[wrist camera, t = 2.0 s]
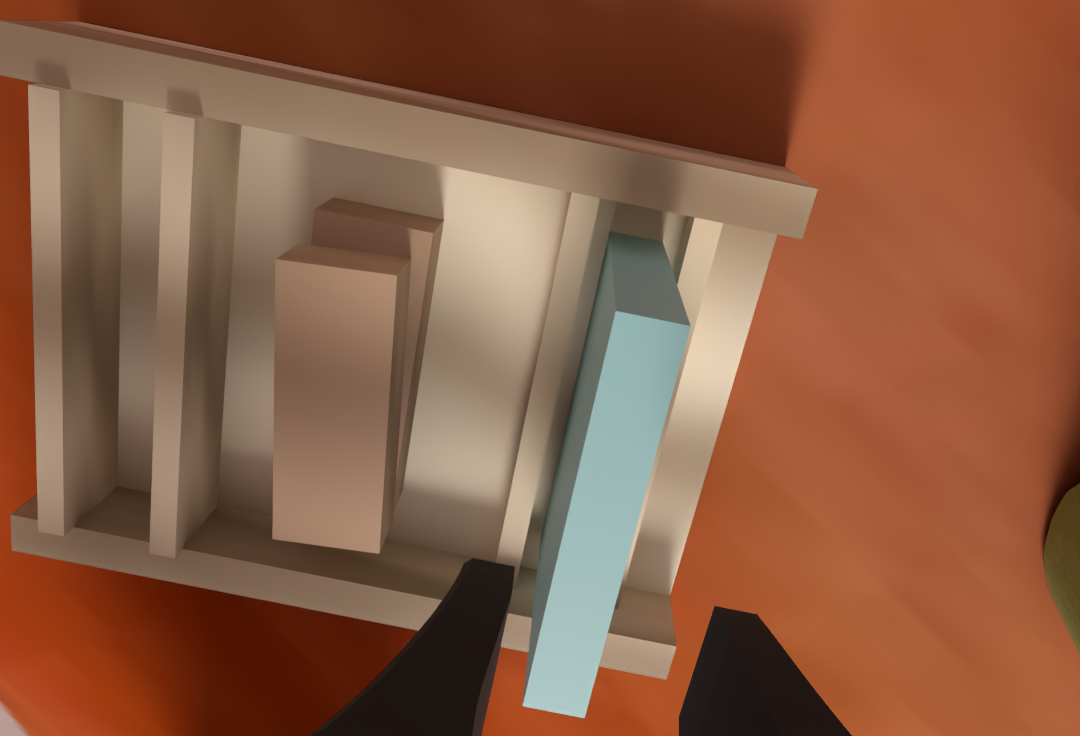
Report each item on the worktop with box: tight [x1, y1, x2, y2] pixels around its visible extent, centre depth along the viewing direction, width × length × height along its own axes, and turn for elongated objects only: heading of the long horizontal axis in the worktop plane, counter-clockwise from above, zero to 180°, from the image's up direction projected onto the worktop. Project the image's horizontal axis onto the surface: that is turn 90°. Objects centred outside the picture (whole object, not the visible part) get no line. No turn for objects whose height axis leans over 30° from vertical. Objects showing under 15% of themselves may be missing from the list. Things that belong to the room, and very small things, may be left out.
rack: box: [0, 20, 818, 679], centre depth 20 cm, size 12×16×3 cm
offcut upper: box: [272, 243, 411, 554], centre depth 19 cm, size 6×2×1 cm, turn 173°
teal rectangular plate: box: [523, 231, 691, 718], centre depth 18 cm, size 8×1×6 cm, turn 169°
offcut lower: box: [311, 197, 444, 510], centre depth 20 cm, size 7×2×1 cm, turn 169°
